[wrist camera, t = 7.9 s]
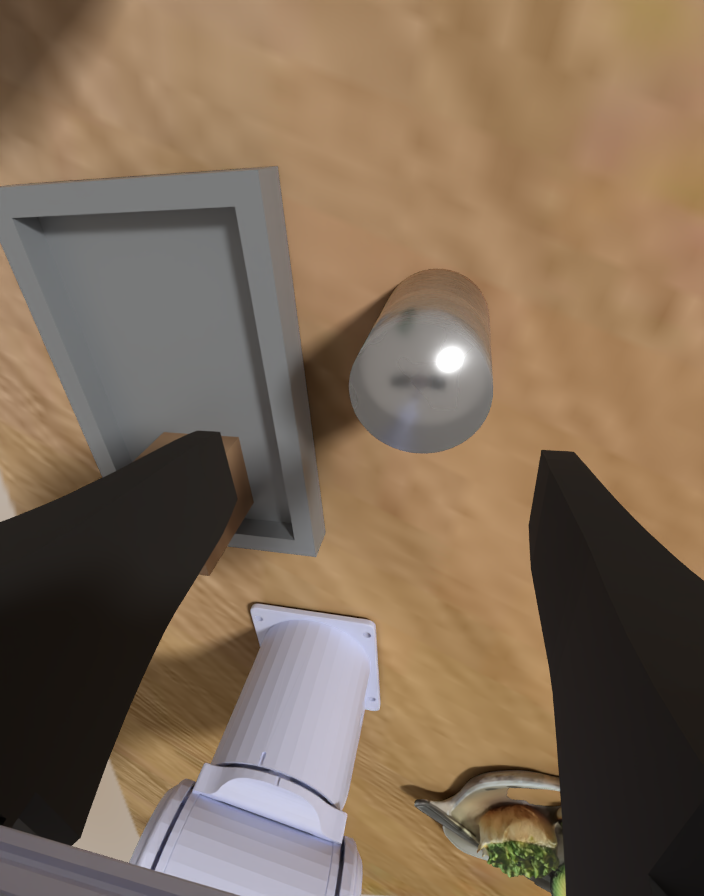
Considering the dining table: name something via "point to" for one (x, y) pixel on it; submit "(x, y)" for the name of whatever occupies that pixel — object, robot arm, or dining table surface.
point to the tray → (176, 325)
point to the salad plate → (506, 826)
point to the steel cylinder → (426, 365)
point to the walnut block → (240, 484)
